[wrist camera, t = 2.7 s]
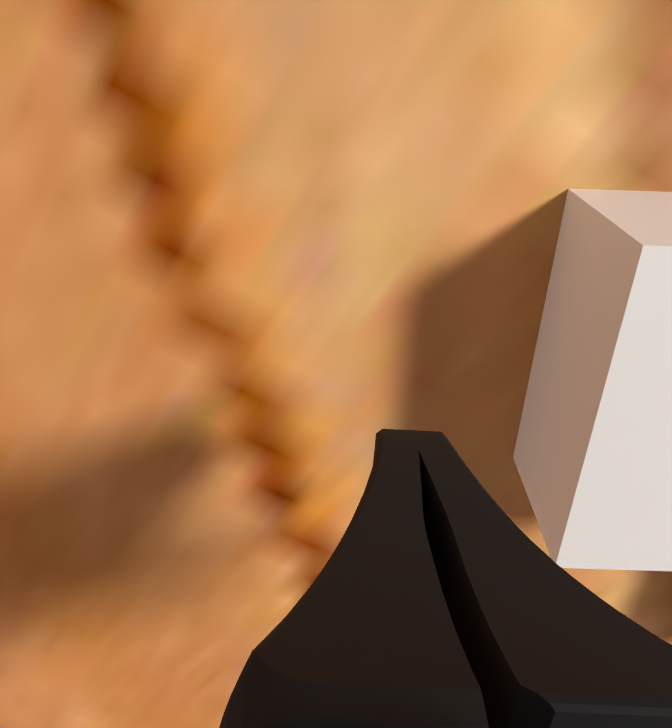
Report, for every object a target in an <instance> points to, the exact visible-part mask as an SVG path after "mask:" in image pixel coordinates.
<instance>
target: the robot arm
mask: <svg viewBox="0 0 672 728" xmlns="http://www.w3.org/2000/svg"><path fill="white" fill-rule="evenodd" d="M220 728H672V645H671V644H669V643H667V642H665V641H664V640H662V639H660V638H659V637H657V636H655V635H654V634H652V633H650V632H649V631H647V630H646V629H644V628H643V627H641V626H640V625H638V624H637V623H635V622H634V621H632V620H631V619H629V618H628V617H626V616H625V615H623V614H622V613H620V612H619V611H617V610H616V609H614V608H613V607H612V606H610V605H609V604H607V603H606V602H605V601H603V600H602V599H600V598H599V597H598V596H596V595H595V594H594V593H592V592H591V591H590V590H589V589H587V588H586V587H585V586H583V585H582V584H581V583H580V582H578V581H577V580H576V579H574V578H573V577H572V576H571V575H569V574H568V573H567V572H566V571H565V570H563V569H562V568H561V567H560V566H559V565H557V564H556V563H555V562H554V561H553V560H552V559H551V558H550V557H548V556H547V555H546V554H545V553H544V552H543V551H542V550H541V549H540V548H539V547H538V546H536V545H535V544H534V543H533V542H532V541H531V540H530V539H529V538H528V537H527V536H526V535H525V534H524V533H523V532H522V531H521V530H520V529H519V528H518V527H517V526H516V525H515V524H514V523H513V521H512V520H511V519H510V518H509V517H508V516H507V515H506V514H505V513H504V512H503V510H502V509H501V508H500V507H499V506H498V505H497V504H496V502H495V501H494V500H493V499H492V497H491V496H490V495H489V494H488V493H487V491H486V490H485V489H484V488H483V486H482V485H481V484H480V483H479V482H478V480H477V479H476V478H475V476H474V475H473V474H472V472H471V471H470V470H469V468H468V467H467V466H466V464H465V463H464V462H463V460H462V459H461V458H460V456H459V455H458V453H457V452H456V451H455V449H454V448H453V446H452V445H451V443H450V442H449V441H448V439H447V438H446V436H445V435H444V434H443V433H442V432H434V431H413V430H393V429H382V430H380V431H379V432H377V433H376V441H375V451H374V461H373V467H372V471H371V474H370V477H369V479H368V482H367V485H366V488H365V491H364V494H363V496H362V498H361V500H360V503H359V505H358V507H357V509H356V512H355V514H354V516H353V518H352V520H351V522H350V524H349V526H348V528H347V530H346V532H345V534H344V536H343V537H342V539H341V541H340V543H339V544H338V546H337V548H336V549H335V551H334V553H333V554H332V556H331V557H330V559H329V560H328V562H327V563H326V565H325V566H324V568H323V569H322V571H321V573H320V574H319V575H318V577H317V578H316V580H315V581H314V582H313V584H312V585H311V586H310V588H309V589H308V590H307V591H306V592H305V594H304V595H303V596H302V597H301V599H300V600H299V601H298V602H297V604H296V605H295V606H294V607H293V608H292V610H291V611H290V612H289V613H288V615H287V616H286V617H285V618H284V619H283V620H282V621H281V622H280V623H279V624H278V625H277V626H276V627H275V628H274V629H273V630H272V631H271V633H270V634H269V635H268V636H267V637H266V638H265V639H264V640H263V641H262V642H261V643H260V644H259V645H258V646H257V647H256V648H255V649H254V650H253V651H252V652H251V655H250V657H249V659H248V660H247V662H246V664H245V667H244V669H243V671H242V673H241V675H240V677H239V679H238V681H237V683H236V685H235V687H234V690H233V692H232V694H231V696H230V699H229V701H228V704H227V706H226V709H225V712H224V715H223V717H222V721H221V724H220Z"/></svg>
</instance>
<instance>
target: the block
mask: <svg viewBox="0 0 672 728" xmlns="http://www.w3.org/2000/svg"><path fill="white" fill-rule="evenodd" d="M513 459H514V462H515V464H516V467H517V470H518V472H519V475H520V478H521V480H522V483H523V485H524V488H525V491H526V493H527V496H528V499H529V501H530V504H531V506H532V509H533V512H534V514H535V517H536V519H537V522H538V525H539V527H540V530H541V533H542V535H543V538H544V540H545V543H546V546H547V548H548V551H549V553H550V556H551V559H552V560H553V561H554V562H555V563H556V564H557V565H559V566H560V567H561V568H583V569H614V570H646V571H672V192H653V191H622V190H591V189H568V192H567V197H566V202H565V207H564V212H563V217H562V222H561V226H560V231H559V236H558V241H557V246H556V251H555V256H554V260H553V265H552V270H551V275H550V280H549V285H548V290H547V295H546V299H545V304H544V309H543V314H542V319H541V324H540V329H539V333H538V338H537V343H536V348H535V353H534V358H533V363H532V368H531V372H530V377H529V382H528V387H527V392H526V397H525V402H524V406H523V411H522V416H521V421H520V426H519V431H518V436H517V441H516V445H515V450H514V455H513Z"/></svg>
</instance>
